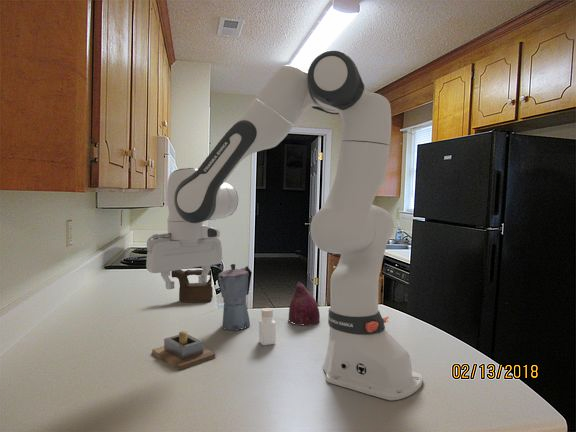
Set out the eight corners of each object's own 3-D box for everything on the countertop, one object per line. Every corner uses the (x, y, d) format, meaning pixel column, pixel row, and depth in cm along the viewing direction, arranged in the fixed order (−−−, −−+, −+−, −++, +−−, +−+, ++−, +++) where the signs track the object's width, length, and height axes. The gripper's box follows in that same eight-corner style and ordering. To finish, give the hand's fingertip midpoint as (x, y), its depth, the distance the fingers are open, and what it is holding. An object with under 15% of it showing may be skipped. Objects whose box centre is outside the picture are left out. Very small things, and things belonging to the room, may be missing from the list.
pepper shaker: (271, 339, 109) (271, 306, 109) (276, 344, 105) (276, 310, 105) (258, 341, 108) (258, 308, 107) (262, 346, 104) (262, 312, 104)
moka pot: (208, 330, 117) (208, 265, 116) (238, 316, 130) (237, 259, 130) (234, 335, 112) (233, 268, 112) (261, 321, 126) (261, 261, 125)
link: (203, 353, 97) (203, 341, 97) (182, 360, 93) (181, 348, 92) (184, 343, 103) (184, 333, 103) (164, 350, 99) (164, 338, 99)
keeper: (215, 357, 97) (215, 334, 96) (179, 370, 90) (179, 344, 89) (186, 343, 106) (186, 321, 106) (152, 353, 99) (151, 330, 99)
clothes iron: (173, 298, 155) (172, 266, 154) (212, 296, 158) (212, 264, 157) (171, 304, 147) (170, 269, 146) (213, 301, 150) (212, 268, 150)
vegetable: (303, 337, 120) (298, 295, 116) (283, 324, 128) (277, 284, 124) (327, 322, 126) (323, 282, 122) (306, 311, 134) (302, 273, 130)
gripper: (152, 235, 88) (154, 294, 88) (225, 230, 103) (226, 281, 103) (140, 234, 92) (142, 290, 93) (211, 229, 107) (212, 278, 107)
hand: (186, 285), depth 98 cm, fingers open, 8 cm apart
